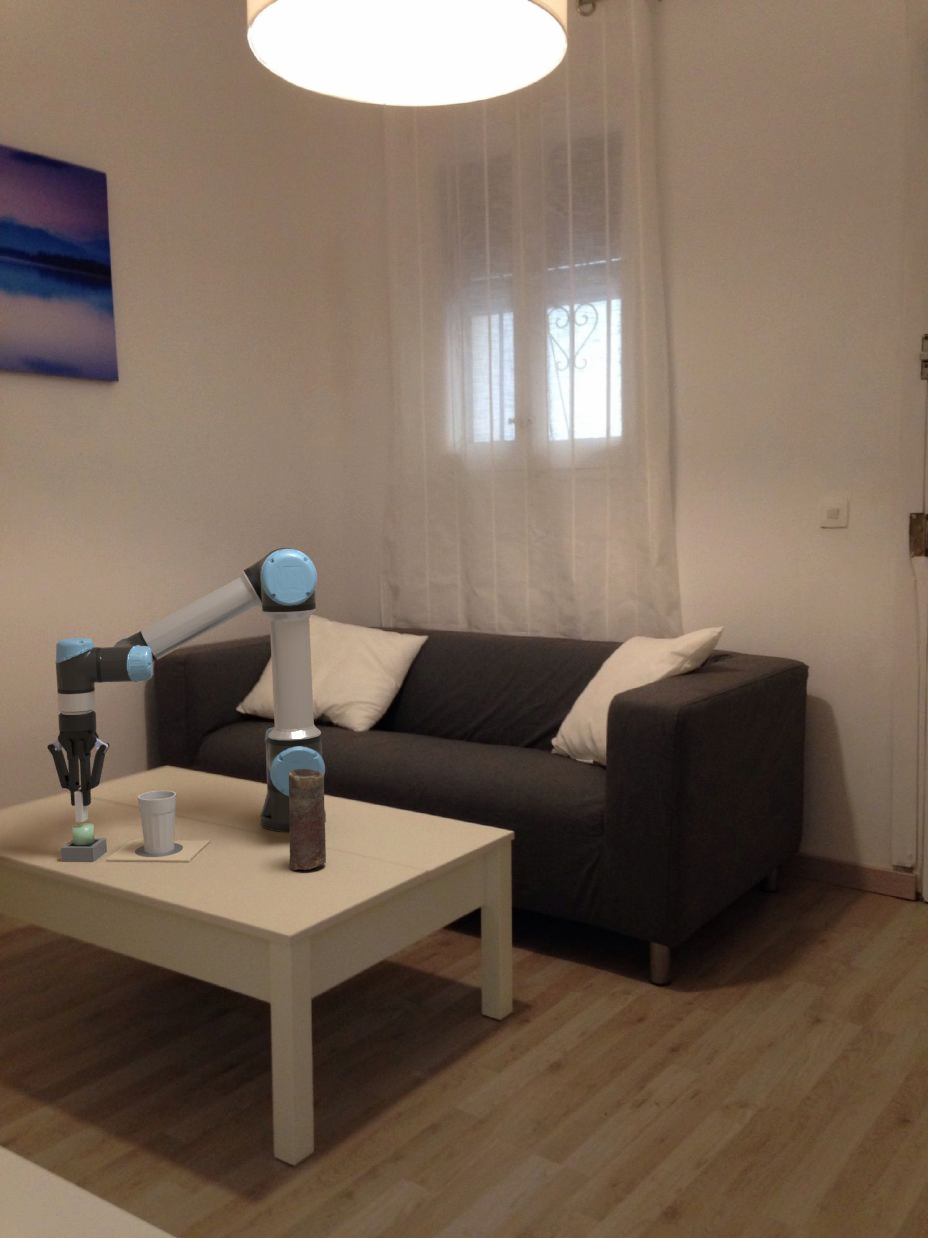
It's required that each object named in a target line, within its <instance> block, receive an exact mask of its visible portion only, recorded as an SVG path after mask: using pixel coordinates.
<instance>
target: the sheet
mask: <svg viewBox="0 0 928 1238" xmlns="http://www.w3.org/2000/svg"><path fill="white" fill-rule="evenodd" d="M210 843H211V841H210V840H183V839H182V840H178V839H177V840H175V839H174V850H172V851H170V852H167V853H161V854H149V853H146V852H144V839H131V840H129V841H128V842H127V843H125V844H124V845H122V846H121V847H120V848H119V849H117V850H116V851H115V852H113V853H112V854H111V855H110V856H108V857H107V858H106V859H105V862H122V863H123V862H125V863H127V862H130V863H131V862H133V863H138V862H139V863H141V862H142V863H190V862H192V860H193V859H194V858H195V857H196V856H197V855H198V854H200V852H202V851H203V849H205V848H206V847H207V846H208V845H209V844H210Z"/></svg>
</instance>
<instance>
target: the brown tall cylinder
mask: <svg viewBox="0 0 928 1238" xmlns="http://www.w3.org/2000/svg"><path fill="white" fill-rule="evenodd" d="M324 809H325V774H323V773H322V772H319V771H314V770H311V769H293V770H292V771H290V772H289V819H290V831H289V868H290V869H292V870H293V871H297V870H305V871H308V870H313V869H316V868H320V867H322V866H323V865H325V863H326V862H327V858H326V857H327V850H326V849H327V848H326V840H327V839H326V822H325V813H326V810H324Z"/></svg>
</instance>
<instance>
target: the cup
mask: <svg viewBox="0 0 928 1238" xmlns="http://www.w3.org/2000/svg"><path fill="white" fill-rule="evenodd" d="M137 801H138V802H137V803H138V808H139V813H140V820H141V829H142V837H143V840H144V852H146V853H149V854H161V853H167V852H170V851H172V850H174V840H175V826H176V825H175V824H176V804H177V803H176V801H177V792H176V791H172V790H152V791H146V792H143V793H140V794H139V795H137Z"/></svg>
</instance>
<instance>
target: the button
mask: <svg viewBox="0 0 928 1238" xmlns="http://www.w3.org/2000/svg"><path fill="white" fill-rule="evenodd" d="M71 830H72V832H71V833H72V840H73V844H75V845H87V844H91V843H93V842H94V841H95V839H94V838H95V823H94V824H93V823H91V822H90V823H89V822H88V823H87V822H86V823H85V822H81V823H78V824H77V823H76V824H74V825H72V827H71Z"/></svg>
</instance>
